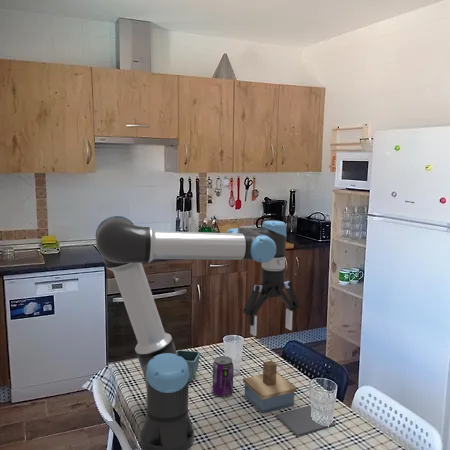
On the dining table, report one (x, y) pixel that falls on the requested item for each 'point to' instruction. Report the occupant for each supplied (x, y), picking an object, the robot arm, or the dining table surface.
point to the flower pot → (190, 361)
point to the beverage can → (222, 376)
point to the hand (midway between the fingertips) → (271, 331)
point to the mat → (300, 421)
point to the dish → (269, 401)
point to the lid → (269, 382)
